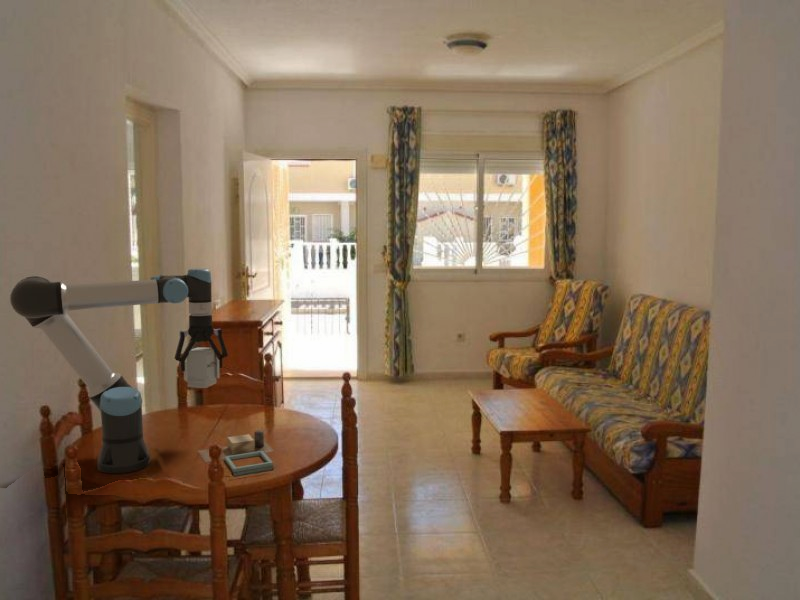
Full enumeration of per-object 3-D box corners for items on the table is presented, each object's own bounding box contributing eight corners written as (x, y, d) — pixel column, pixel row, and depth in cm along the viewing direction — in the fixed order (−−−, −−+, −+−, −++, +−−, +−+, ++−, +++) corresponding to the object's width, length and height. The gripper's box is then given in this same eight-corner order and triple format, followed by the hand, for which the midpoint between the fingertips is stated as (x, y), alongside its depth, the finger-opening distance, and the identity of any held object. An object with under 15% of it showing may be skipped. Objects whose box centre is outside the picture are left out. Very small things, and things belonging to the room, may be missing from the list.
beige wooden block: (232, 453, 213) (232, 443, 213) (228, 447, 219) (227, 437, 219) (254, 450, 216) (254, 440, 216) (249, 444, 222) (248, 434, 222)
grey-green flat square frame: (233, 477, 197) (233, 468, 197) (224, 464, 208) (224, 456, 208) (273, 470, 203) (273, 462, 202) (262, 458, 213) (262, 450, 213)
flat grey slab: (204, 466, 206) (204, 446, 205) (197, 455, 216) (196, 435, 216) (274, 455, 216) (273, 436, 215) (264, 445, 226) (263, 426, 226)
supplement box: (207, 388, 224) (206, 351, 223) (186, 387, 226) (185, 350, 224) (217, 383, 232) (216, 347, 230) (197, 382, 233) (196, 346, 232)
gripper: (167, 317, 218) (169, 384, 220) (236, 314, 228) (237, 378, 230) (164, 314, 224) (165, 379, 227) (231, 311, 235) (232, 373, 237)
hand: (202, 378), depth 228 cm, fingers closed on supplement box, 10 cm apart
